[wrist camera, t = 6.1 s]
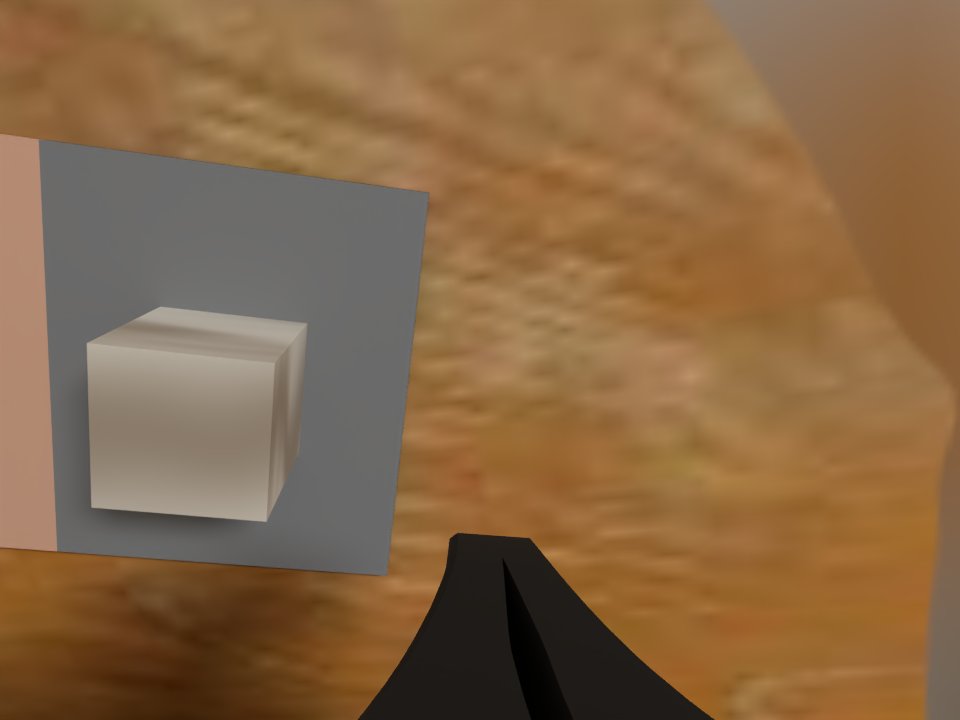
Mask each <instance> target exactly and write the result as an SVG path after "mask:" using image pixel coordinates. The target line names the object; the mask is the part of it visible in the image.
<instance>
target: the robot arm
mask: <svg viewBox="0 0 960 720" xmlns="http://www.w3.org/2000/svg"><path fill="white" fill-rule="evenodd" d="M358 720H714V719H713V718H711V717H710V716H709V715H707V714H706V713H705V712H703V711H702V710H701V709H699V708H698V707H697V706H696V705H694V704H693V703H692V702H690V701H689V700H688V699H686V698H685V697H684V696H683V695H682V694H680V693H679V692H678V691H677V690H676V689H674V688H673V687H672V686H671V685H670V684H668V683H667V682H666V681H665V680H664V679H662V678H661V677H660V676H659V675H657V674H656V673H655V672H654V671H653V670H651V669H650V668H649V667H648V666H647V665H646V664H645V663H644V662H643V661H641V660H640V659H639V658H638V657H637V656H636V655H635V654H634V653H633V652H632V651H631V650H630V649H629V648H628V647H627V646H626V645H625V644H624V643H623V642H622V641H621V640H619V639H618V638H617V637H616V636H615V635H614V634H613V633H612V632H611V631H610V630H609V629H608V628H607V627H606V626H605V625H604V624H603V623H602V621H601V620H600V619H599V618H598V617H597V616H596V615H595V614H594V613H593V612H592V611H591V610H590V609H589V608H588V607H587V605H586V604H585V603H584V602H583V601H582V600H581V599H580V598H579V596H578V595H577V594H576V593H575V592H574V591H573V590H572V589H571V587H570V586H569V585H568V584H567V583H566V582H565V580H564V579H563V578H562V577H561V576H560V574H559V573H558V572H557V571H556V570H555V568H554V567H553V566H552V565H551V563H550V562H549V561H548V560H547V559H546V557H545V556H544V555H543V554H542V552H541V551H540V550H539V549H538V548H537V546H536V545H535V544H534V543H533V542H532V540H531V539H530V538H520V537H506V536H492V535H478V534H464V533H457V534H455V535H454V536H453V537H451V538H450V541H449V549H448V557H447V565H446V570H445V573H444V576H443V579H442V581H441V584H440V586H439V589H438V591H437V594H436V596H435V599H434V601H433V603H432V605H431V608H430V610H429V612H428V614H427V615H426V617H425V619H424V621H423V623H422V625H421V627H420V629H419V631H418V632H417V634H416V636H415V638H414V640H413V642H412V643H411V645H410V647H409V648H408V650H407V652H406V653H405V655H404V657H403V658H402V660H401V661H400V663H399V664H398V666H397V667H396V669H395V670H394V672H393V673H392V675H391V676H390V678H389V679H388V681H387V682H386V684H385V685H384V686H383V688H382V689H381V690H380V692H379V693H378V694H377V695H376V697H375V698H374V699H373V701H372V702H371V703H370V705H369V706H368V707H367V709H366V710H365V711H364V713H363V714H362V715H361V716H360V717H359V719H358Z"/></svg>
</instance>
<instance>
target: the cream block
mask: <svg viewBox="0 0 960 720" xmlns="http://www.w3.org/2000/svg"><path fill="white" fill-rule="evenodd" d="M306 339H307V323H300V322H291V321H283V320H274V319H265V318H256V317H248V316H239V315H230V314H221V313H212V312H204V311H195V310H186V309H177V308H168V307H159V308H157V309H155V310H153V311H151V312H149V313H147V314H145V315H143V316H141V317H139V318H136V319H134V320H132V321H130V322H128V323H126V324H124V325H122V326H120V327H118V328H116V329H114V330H112V331H110V332H108V333H106V334H104V335H102V336H100V337H98V338H96V339H94V340H92V341H90V342H88V343H87V369H88V404H89V439H90V474H91V508H103V509H115V510H128V511H140V512H152V513H165V514H177V515H189V516H201V517H214V518H226V519H238V520H251V521H263V522H267V520H268V517H269V515H270V513H271V511H272V509H273V507H274V505H275V503H276V500H277V498H278V496H279V494H280V492H281V490H282V488H283V486H284V484H285V481H286V479H287V477H288V475H289V473H290V471H291V469H292V467H293V465H294V462H295V460H296V458H297V456H298V454H299V446H300V430H301V415H302V400H303V385H304V369H305V354H306Z"/></svg>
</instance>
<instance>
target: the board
mask: <svg viewBox="0 0 960 720" xmlns="http://www.w3.org/2000/svg"><path fill="white" fill-rule="evenodd" d="M428 199H429V193H427V192H420V191H413V190H406V189H398V188H391V187H384V186H377V185H369V184H362V183H355V182H347V181H340V180H333V179H326V178H318V177H311V176H304V175H296V174H289V173H282V172H275V171H267V170H260V169H253V168H246V167H238V166H231V165H224V164H216V163H209V162H202V161H195V160H187V159H180V158H173V157H165V156H158V155H151V154H144V153H136V152H129V151H122V150H115V149H107V148H100V147H93V146H85V145H78V144H71V143H64V142H56V141H49V140H42V139H34V138H27V137H20V136H13V135H5V134H0V547H5V548H18V549H32V550H45V551H59V552H72V553H86V554H99V555H113V556H126V557H140V558H153V559H167V560H180V561H194V562H207V563H221V564H234V565H248V566H261V567H275V568H288V569H302V570H315V571H329V572H342V573H356V574H369V575H383V576H387V569H388V560H389V551H390V542H391V533H392V524H393V515H394V506H395V497H396V488H397V479H398V470H399V461H400V452H401V443H402V434H403V425H404V415H405V406H406V397H407V388H408V379H409V370H410V361H411V352H412V343H413V334H414V325H415V316H416V307H417V298H418V289H419V280H420V271H421V262H422V253H423V244H424V235H425V226H426V217H427V208H428ZM159 307H168V308H177V309H186V310H195V311H204V312H212V313H221V314H230V315H239V316H248V317H256V318H265V319H274V320H283V321H291V322H300V323H307V339H306V354H305V369H304V385H303V400H302V415H301V430H300V446H299V454H298V456H297V458H296V460H295V462H294V465H293V467H292V469H291V471H290V473H289V475H288V477H287V479H286V481H285V484H284V486H283V488H282V490H281V492H280V494H279V496H278V498H277V500H276V503H275V505H274V507H273V509H272V511H271V513H270V515H269V517H268V520H267V522H263V521H251V520H238V519H226V518H214V517H201V516H189V515H177V514H165V513H152V512H140V511H128V510H115V509H103V508H91V474H90V439H89V404H88V369H87V343H88V342H90V341H92V340H94V339H96V338H98V337H100V336H102V335H104V334H106V333H108V332H110V331H112V330H114V329H116V328H118V327H120V326H122V325H124V324H126V323H128V322H130V321H132V320H134V319H136V318H139V317H141V316H143V315H145V314H147V313H149V312H151V311H153V310H155V309H157V308H159Z"/></svg>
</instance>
